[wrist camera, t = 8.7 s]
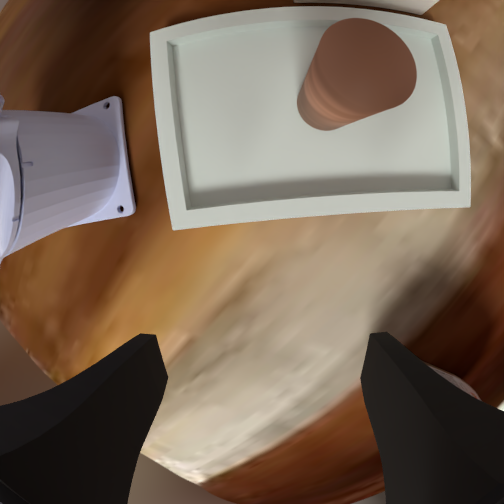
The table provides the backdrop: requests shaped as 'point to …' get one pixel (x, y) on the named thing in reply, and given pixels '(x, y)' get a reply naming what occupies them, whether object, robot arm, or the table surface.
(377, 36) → the pin
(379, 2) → the cup block
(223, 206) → the tray
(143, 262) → the table surface
